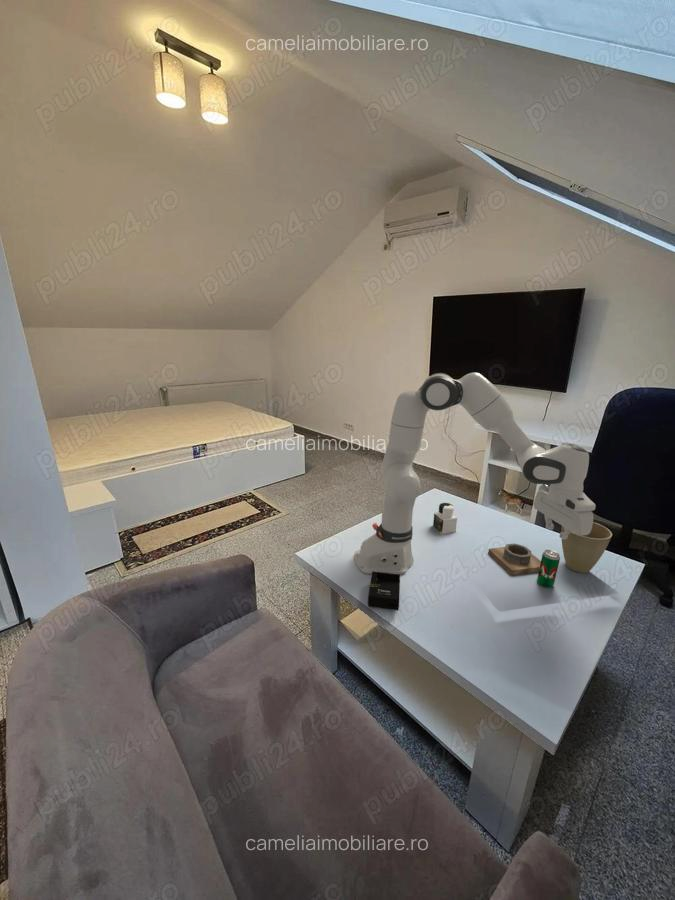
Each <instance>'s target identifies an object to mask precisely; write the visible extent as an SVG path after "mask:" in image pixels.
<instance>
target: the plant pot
mask: <svg viewBox="0 0 675 900" xmlns="http://www.w3.org/2000/svg"><path fill="white" fill-rule="evenodd" d="M560 527H561V528H560V529H561V530H560V531H561V532H564V531H565V530H564V526H562V525H560ZM612 536H613V532H612V531H611V530H610V529H608V528H607V527H605V525H602V524H599V523H597V522H594V521H593V525H592V529H591V532H590V533H589V534H588V535H583V536H578V535H576V534H575V533H573V532H571V533H570V534H568V538H567V539H565V540H563V539H562V538H561V545H562V553H563V558H564V562H565V565H566V566H567V568H568V569H570V570H571V571H575V572H576V573H580V574H581V573H582V574H586V573H589V572H590V571H591V570H592V569H593V568H594V567H595V565H597V563H598V562H599V560H600V559H601V557H603V554H604V552H605V551H606V549H607V547H608V545H609V543H610V541H611V539H612Z"/></svg>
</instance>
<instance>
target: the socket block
mask: <svg viewBox="0 0 675 900" xmlns="http://www.w3.org/2000/svg"><path fill="white" fill-rule="evenodd" d="M487 552H488V555H489V556H491V557H492V558H493V559H494V560H495V561H496V563H498V564H499V565H500V566H501V567H502V568H503V569H504V570H505V571H506V572H507V573H508V574H509V575H510V576H515V575H524V574H532V573H539V568H540V564H541V560H540V559H539V558H538V557H536V555H534V554H533V553H532V550H531V549H529V548H528V547H527V546H525V545H522V544H518V543H506V545H505V546H502V547H501V546H500V547H493V548H488V551H487Z"/></svg>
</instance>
